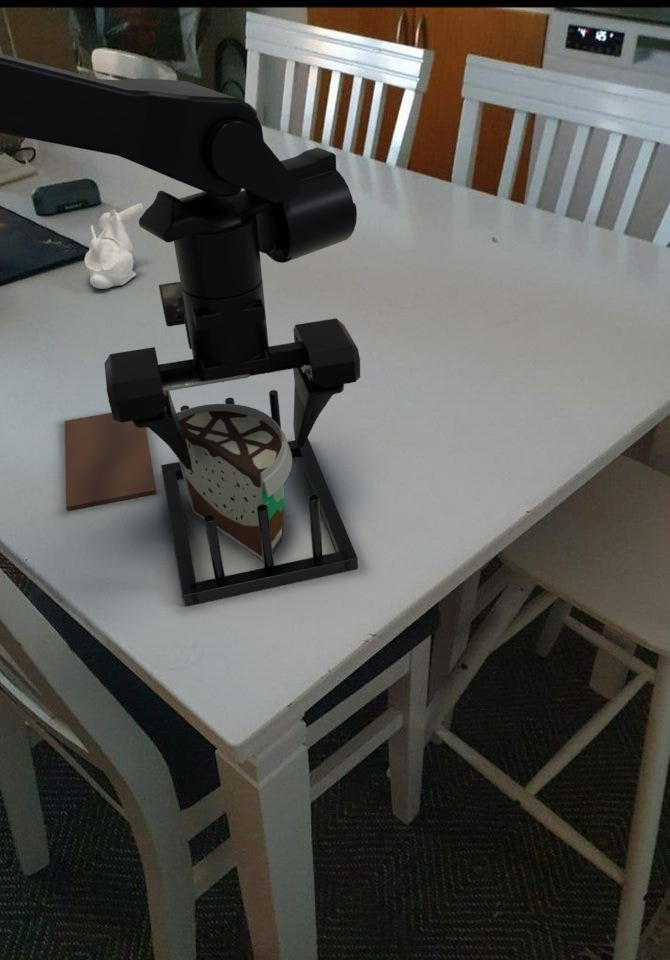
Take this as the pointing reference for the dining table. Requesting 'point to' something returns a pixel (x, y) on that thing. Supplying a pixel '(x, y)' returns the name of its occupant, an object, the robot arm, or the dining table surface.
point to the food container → (236, 470)
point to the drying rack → (270, 573)
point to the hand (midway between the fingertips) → (244, 455)
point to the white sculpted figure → (112, 250)
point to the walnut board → (106, 461)
